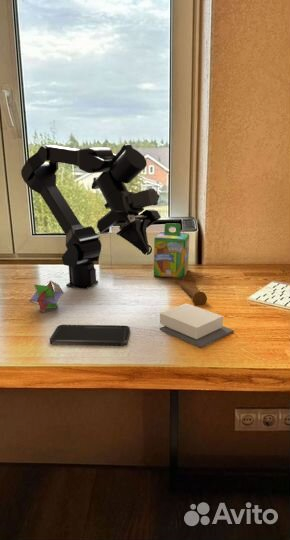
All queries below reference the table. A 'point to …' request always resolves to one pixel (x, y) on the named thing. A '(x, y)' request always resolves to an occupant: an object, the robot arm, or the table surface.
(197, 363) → the table surface
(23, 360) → the table surface
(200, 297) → the primitive tool
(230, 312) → the table surface
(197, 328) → the cream flat block
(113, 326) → the phone
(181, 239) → the chalk box
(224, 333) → the mat
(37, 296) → the geometric puzzle
